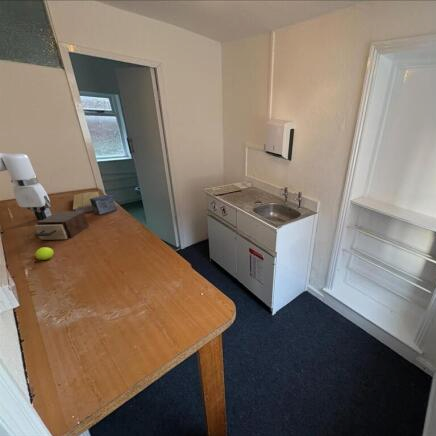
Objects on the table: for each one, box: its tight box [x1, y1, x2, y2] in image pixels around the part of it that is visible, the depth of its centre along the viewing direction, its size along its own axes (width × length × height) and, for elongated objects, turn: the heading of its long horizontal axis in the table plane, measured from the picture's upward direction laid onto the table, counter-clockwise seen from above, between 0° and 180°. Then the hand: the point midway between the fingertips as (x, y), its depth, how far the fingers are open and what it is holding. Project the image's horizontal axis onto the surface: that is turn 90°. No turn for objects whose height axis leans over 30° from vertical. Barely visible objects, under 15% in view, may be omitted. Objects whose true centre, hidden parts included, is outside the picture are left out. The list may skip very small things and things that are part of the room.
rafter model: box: [72, 191, 100, 213], centre depth 164 cm, size 35×14×6 cm, turn 39°
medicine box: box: [44, 205, 52, 217], centre depth 140 cm, size 8×4×9 cm, turn 55°
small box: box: [90, 194, 117, 216], centre depth 153 cm, size 11×6×10 cm, turn 154°
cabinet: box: [36, 210, 90, 239], centre depth 125 cm, size 15×13×10 cm
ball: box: [34, 246, 55, 261], centre depth 103 cm, size 6×6×6 cm
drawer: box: [33, 223, 69, 241], centre depth 120 cm, size 18×11×8 cm, turn 9°
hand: (42, 219), depth 112 cm, fingers closed
